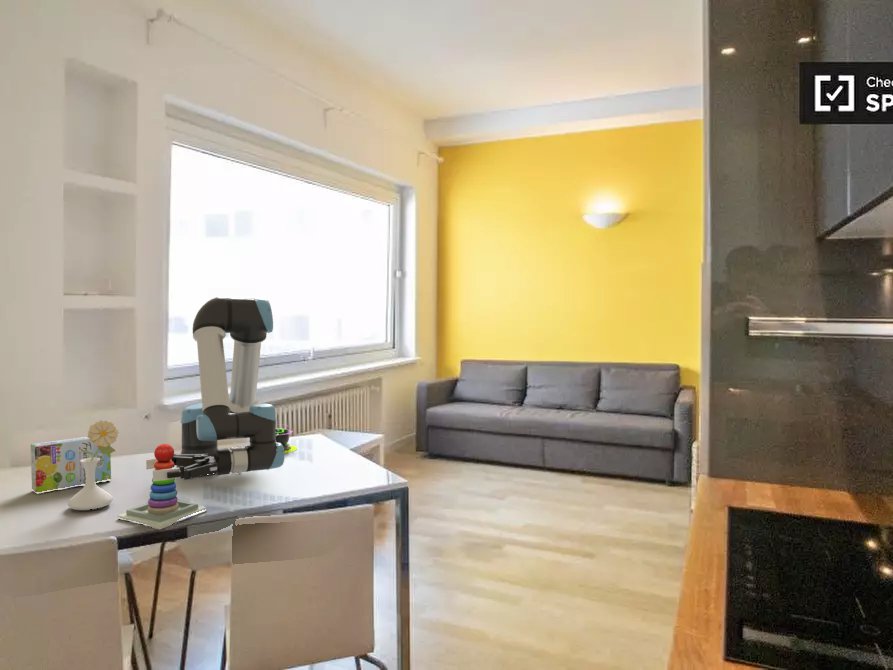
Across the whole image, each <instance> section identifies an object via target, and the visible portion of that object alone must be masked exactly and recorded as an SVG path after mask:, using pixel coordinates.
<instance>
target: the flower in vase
mask: <svg viewBox="0 0 893 670" xmlns="http://www.w3.org/2000/svg"><path fill="white" fill-rule="evenodd" d="M119 433H120V432H119V429H117V426H116V425H115V424H114V423H113V422H112V421H109V420H103V419H101V420H99V421H95V423H93V424H91V425H89V429H88V431H87V436H86V437H88V438H89V440H90V441H92V444H93V445H94V444H95V445H97V446H99V448H98V450H100V451H101V452H102V453H103V454H109V453H110V454H112V453H114V452H116V449H115V448H114V447H112V446H111V444H113V443H115V442H117V438H118V436H119V435H118V434H119ZM109 444H110V446H109ZM100 446H102V447H101V448H100ZM80 450H81V451H82V452H84V453H88V454H92V455H94V456H95V455H96V453H97V452H98V450H97V451H96V453H95V454H93V453H92V452H88V451H84V450H82V449H80ZM94 456H93V457H92V458H85V459H82V460H80V462H81V463H82V464H83V466H84V468H85V473H86V483H85V486H83V488H81V489H80V490H79V491H78V492H76V493H75V494H74V495H73V496H72V497H71V498H70V499H69V500H68V503H67V506H68V507H69V508H70V509H71V510H75V511H91V510H90V509H92V510H98V509H101V508H104V507H106V506H108V505H110V504H111V503H112V502H113V501H114V497H113V496H112V495H111V494H110V493H109V492H108V491H106V490H104V489H103V488H101V487H100V486H99V485H98V484H96V483H95V469H96V465H97V463H98V461H99V460H100V458H94ZM97 508H98V509H97Z"/></svg>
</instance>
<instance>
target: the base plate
mask: <svg viewBox="0 0 893 670" xmlns="http://www.w3.org/2000/svg"><path fill="white" fill-rule="evenodd" d="M177 503H178V505H179V508H178V510H175V511H172V512H170V513H167V514H164V515H155V514H151V513H149V512H148V511H147V508H148V506H149V504H148V502H146V503H143V504H140V505H138V506H135V507H132V508H129V509H127V510H126V511H125V512H124V513H120V514H117V517H120V518H123V519H126V520H131V521H136V522H139V523H143V524H147V525H150V526H152V528H151V529H156V530H162V529H165V528H167V527H170V526H173V525H174V524H173V523H174V522H176V521H177V520H179V519H181V518H183V517H186V516H188V515H191V514H193V513H196V512H199V511H202V510H205V509H207V507H205V506H202V505H199V503H195V502H191V501H186V500H180V499H178V501H177ZM172 524H173V525H172Z"/></svg>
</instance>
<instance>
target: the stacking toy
mask: <svg viewBox="0 0 893 670" xmlns="http://www.w3.org/2000/svg"><path fill="white" fill-rule="evenodd" d="M174 454H175V449H174V447H173V446H172V445H171V444H168V443H162V444H159V445H157V447H156V448H155V449H154V453H153V455H154V458H156V460H158V461H157V462H155V464H154V470H163V469H171V468H174V467H175V465H174V462H173V461H171V459H172V458H173V456H174ZM173 466H174V467H173ZM175 481H176V479H169V480H161V481H153V477H152V479H151V482H152V483H151V485H150V490H151V491H150V492H149V499H148V501H147V503H148V504H149V506H148V508H147V511H148V512H149V513H151V514H155V515H164V514H167V513H170V512H172V511H175V510H178V508H179V505H178V503H177V501H178V500H179V499H178V496H177V495H178V490H177V489H176V488H177V483H176V482H175Z"/></svg>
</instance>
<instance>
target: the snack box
mask: <svg viewBox="0 0 893 670" xmlns="http://www.w3.org/2000/svg"><path fill="white" fill-rule="evenodd" d="M109 446H110V447H111V444H109ZM101 447H102V446H100V448H101ZM98 448H99V446H97V445H95V444H94V445H93V444H92V441H90V440H89V438H88V437H87V436H83V437H82V436H81V437H73V438H66V439H61V440H60V439H58V440H53V441H51V440H50V441H43V442H37V443H36V442H34V443H31V444H30V466H31V467H30V468H31V471H30V472H31V490H32V489H33V490H34V491H35V492H42V491H47V490H53V489H58V488H65V487H70V486H75V485H81V484H85V483H86V473H85V468H84V466H83V464H82V463H81V462H80V460H82V459H85V458H92V457H93V456H94V455H92V454H88V453H84V452H82V451H81V450H80V449H82V450H84V451H88V452H92V453H93V454H95V453H96V451H97V450H98ZM94 458H100V460H99V461H98V463H97V465H96V469H95V482H97V481H102V480H107V479H111V480H112V468H111V467H112V465H111V464H112V463H111V462H112V461H111V458H112V457H111V453H109V454H103V453H102V452H101V451H100V450H98V452H97V453H96V455H95V456H94Z"/></svg>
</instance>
